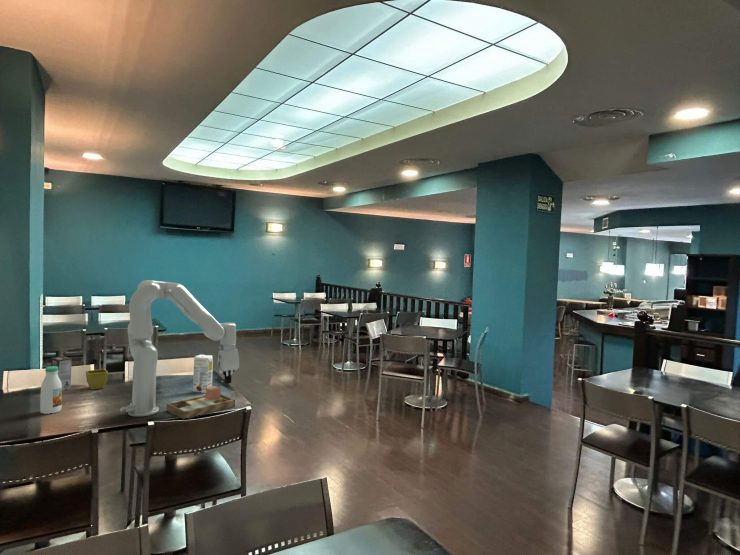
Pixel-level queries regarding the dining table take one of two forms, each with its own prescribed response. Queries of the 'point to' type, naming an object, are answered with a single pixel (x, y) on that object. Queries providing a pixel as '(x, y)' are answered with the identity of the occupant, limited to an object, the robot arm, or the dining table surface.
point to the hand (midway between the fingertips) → (227, 382)
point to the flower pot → (96, 378)
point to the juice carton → (202, 373)
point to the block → (213, 393)
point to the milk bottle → (51, 392)
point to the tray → (199, 406)
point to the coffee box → (63, 370)
